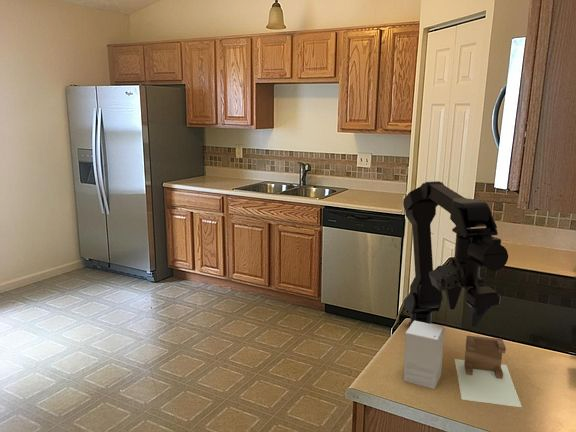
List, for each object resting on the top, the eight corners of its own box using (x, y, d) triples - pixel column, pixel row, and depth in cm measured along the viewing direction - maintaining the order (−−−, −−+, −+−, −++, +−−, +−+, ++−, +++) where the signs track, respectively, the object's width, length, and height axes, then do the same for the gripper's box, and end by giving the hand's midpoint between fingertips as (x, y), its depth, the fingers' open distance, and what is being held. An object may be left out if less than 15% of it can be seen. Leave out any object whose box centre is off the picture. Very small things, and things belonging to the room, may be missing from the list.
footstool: (464, 365, 114) (466, 335, 113) (499, 369, 112) (502, 339, 111) (466, 374, 110) (468, 343, 109) (502, 378, 108) (505, 347, 107)
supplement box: (442, 374, 111) (445, 326, 108) (434, 390, 105) (437, 339, 102) (411, 366, 115) (413, 319, 112) (402, 381, 109) (404, 332, 106)
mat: (454, 360, 117) (454, 359, 117) (506, 365, 114) (506, 364, 114) (461, 400, 101) (461, 399, 101) (521, 408, 98) (521, 407, 98)
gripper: (416, 245, 114) (413, 304, 118) (457, 272, 97) (451, 340, 101) (458, 242, 117) (453, 300, 120) (505, 268, 99) (498, 335, 103)
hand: (462, 317), depth 111 cm, fingers open, 9 cm apart
